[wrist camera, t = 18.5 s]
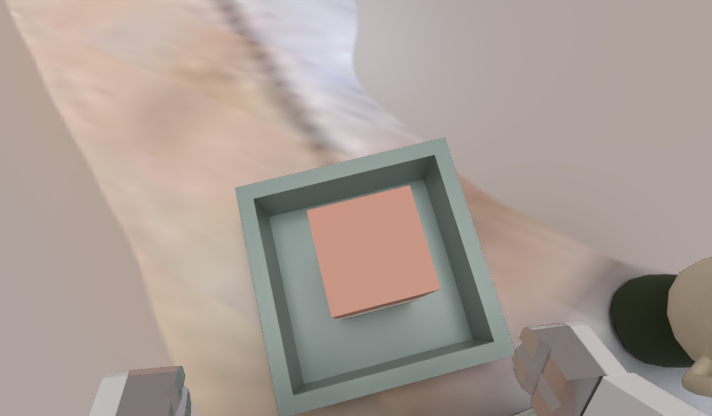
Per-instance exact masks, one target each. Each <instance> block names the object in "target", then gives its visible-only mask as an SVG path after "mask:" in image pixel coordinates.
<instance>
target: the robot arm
mask: <svg viewBox="0 0 712 416" xmlns="http://www.w3.org/2000/svg"><path fill="white" fill-rule="evenodd" d="M519 338H520V339H521V341H522V344H521V345H520V346H519V347H518V348H517V349H516V350H515V352H514V356H513V369H514V373H515V376H516V379H517V380H518V382H519V384H520V386H521V388H523V389H524V390H525V391H527V392H528V393H530V394H531V395H532V396H531V403H530V404H531V406H532V408H533V409H534V411H535V413H536V415H537V416H708V415H706V414H704V413H703V412H701V411H699V410H697V409H696V408H694V407H692V406H691V405H689V404H687V403H685V402H684V401H682V400H680V399H678V398H677V397H675V396H673V395H671V394H670V393H668V392H666V391H664V390H663V389H661V388H659V387H658V386H656V385H654V384H652V383H651V382H649V381H647V380H645V379H644V378H642V377H640V376H638V375H637V374H635V373H627V371H626V370H625V369H624V368H623V366H622V365H621V364H620V363H619V362H618V360H617V359H616V358H615V357H614V356H613V354H612V353H611V352H610V351H609V349H608V348H607V347H606V346H605V345H604V343H603V342H602V341H601V340H600V339H599V337H598V336H597V335H596V334H595V333H594V331H593V330H592V329H591V328H590V326H589V325H588V324H587V323H585V322H583V321H575V322H566V323H554V324H546V325H538V326H530V327H525V328H524V329H523V330H522V332H521V335H520V337H519ZM184 379H185V373H184V370H183V367H182V366H172V367H160V368H149V369H138V370H128V371H117V372H107V373H106V374H105V376H104V377H103V378H102V380H101V382H100V385H99V387H98V390H97V393H96V396H95V398H94V401H93V404H92V407H91V410H90V412H89V415H88V416H191V401H190V394H189V389H188V388H187V387H185V386H183V385H184Z"/></svg>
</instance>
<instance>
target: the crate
mask: <svg viewBox="0 0 712 416" xmlns="http://www.w3.org/2000/svg"><path fill="white" fill-rule="evenodd" d="M408 185H410V188H411V191H412V194H413V198H414V201H415V204H416V208H417V211H418V214H419V218H420V221H421V225H422V228H423V231H424V235H425V238H426V241H427V245H428V248H429V251H430V255H431V258H432V262H433V265H434V268H435V272H436V275H437V278H438V282H439V285H440V288H441V289H440V290H437V291H435V292H433V293H430V294H428V295H426V296H423V297H422V298H421V299H419V300H416V301H412V302H408V303H405V304H401V305H397V306H393V307H389V308H385V309H381V310H378V311H374V312H370V313H366V314H362V315H358V316H355V317H351V318H347V319H343V320H338V319H336V318H331V314H330V310H329V305H328V301H327V297H326V292H325V288H324V284H323V279H322V275H321V271H320V266H319V262H318V258H317V253H316V249H315V245H314V241H313V236H312V232H311V228H310V223H309V219H308V215H307V210H310V209H314V208H319V207H323V206H327V205H331V204H335V203H339V202H343V201H347V200H351V199H355V198H359V197H363V196H367V195H371V194H376V193H380V192H384V191H388V190H392V189H396V188H400V187H404V186H408ZM235 191H236V196H237V201H238V206H239V212H240V217H241V222H242V227H243V232H244V238H245V243H246V248H247V253H248V258H249V264H250V269H251V274H252V279H253V284H254V290H255V295H256V300H257V305H258V310H259V316H260V321H261V326H262V331H263V336H264V342H265V347H266V352H267V357H268V362H269V368H270V373H271V378H272V383H273V388H274V394H275V399H276V404H277V409H278V414H279V416H292V415H296V414H300V413H303V412H307V411H311V410H314V409H318V408H322V407H325V406H329V405H333V404H336V403H340V402H344V401H348V400H351V399H355V398H359V397H362V396H366V395H370V394H373V393H377V392H381V391H384V390H388V389H392V388H395V387H399V386H403V385H407V384H410V383H414V382H418V381H421V380H425V379H429V378H432V377H436V376H440V375H443V374H447V373H451V372H455V371H458V370H462V369H466V368H469V367H473V366H477V365H480V364H484V363H488V362H491V361H495V360H499V359H502V358H506V357H510V356H514V352H515V349H514V346H513V343H512V340H511V337H510V334H509V331H508V328H507V325H506V322H505V319H504V316H503V313H502V310H501V307H500V304H499V301H498V297H497V294H496V291H495V288H494V285H493V282H492V279H491V276H490V273H489V270H488V267H487V264H486V261H485V258H484V255H483V252H482V249H481V246H480V243H479V240H478V237H477V234H476V231H475V227H474V224H473V221H472V218H471V215H470V212H469V209H468V206H467V203H466V200H465V197H464V194H463V191H462V188H461V185H460V182H459V179H458V176H457V173H456V170H455V167H454V164H453V160H452V157H451V155H450V151H449V149H448V145H447V142H446V139H445V138H440V139H436V140H432V141H427V142H423V143H419V144H415V145H411V146H407V147H403V148H398V149H394V150H390V151H386V152H382V153H378V154H374V155H369V156H365V157H361V158H357V159H353V160H349V161H345V162H340V163H336V164H332V165H328V166H324V167H320V168H315V169H311V170H307V171H303V172H299V173H295V174H291V175H286V176H282V177H278V178H274V179H270V180H266V181H262V182H257V183H253V184H249V185H245V186H241V187H237V188H235Z"/></svg>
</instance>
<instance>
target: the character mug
mask: <svg viewBox="0 0 712 416" xmlns="http://www.w3.org/2000/svg"><path fill="white" fill-rule="evenodd" d="M612 313H613V317H614V322H615V326H616V331H617V333H618V335H619V336H620V338H621V339H622V341H623V342H624V344H625V345H626V347H627V349H628V350H629V351H630V352H631V353H633V354H634V355H635V356H636V357H638V358H639V359H640V360H642V361H643V362H644V363H647V364H652V365H657V366H662V367H682V368H686V367H691V368H690V369H689V370H688V371H687V372H686V373H685V374H684V375H683V377H682V379H681V382H682V385H683V387H684V388H685V389H687V390H688V391H690V392H692V393H695V394H697V395H702V396H707V397H712V257H711V258H705V259H703V260H700V261H698V262H696V263H695V264H693V265H691V266H689V267H688V268H686V269H684V270H683V271H681V272H679V274H678V275H668V274H662V275H646V276H642V277H639V278H635V279H631V280H629V281H628V282H627V283H626V284H625V285H624V286H623V287H622V288H621V289H620V290H619V291H618V292H617V293H616V297H615V301H614V306H613V310H612Z"/></svg>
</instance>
